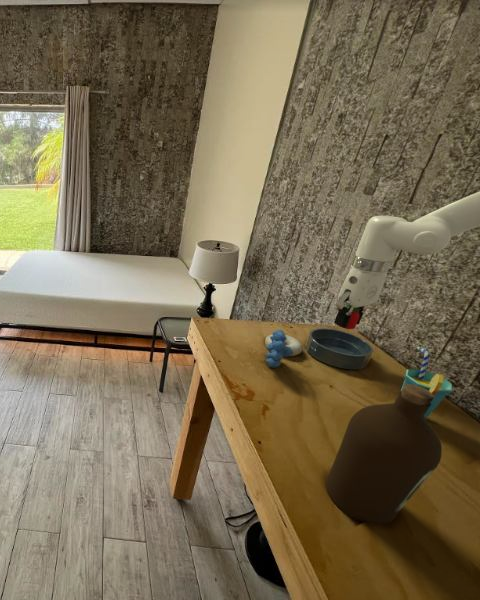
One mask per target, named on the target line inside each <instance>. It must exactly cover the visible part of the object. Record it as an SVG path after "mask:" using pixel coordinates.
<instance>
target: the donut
mask: <svg viewBox="0 0 480 600" xmlns="http://www.w3.org/2000/svg"><path fill="white" fill-rule="evenodd" d="M272 335H273V334H272V333H271V334H269V335H268V336H266V338H265V340H264V344H265V347H266V346H268V345H269V344H270V343H272V340H271V339H270V337H271V336H272ZM285 336H286V338H287V339H286V340H285V341H284V342H285V344H286V346H288V347H290V348H291V349H292V351H293V354H292V355H290V356H289V357H295V356H298V355H300V354H301V353H302V352H303V345H302V343H301V342H300V341H299V340H298V339H297V338H295V337H293V336H290V335H287V334H285Z"/></svg>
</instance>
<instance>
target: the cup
mask: <svg viewBox="0 0 480 600" xmlns="http://www.w3.org/2000/svg"><path fill="white" fill-rule="evenodd" d="M416 350H418V351H419V352H420V353H422V354H423V360H422V363H421V367H420V369H406V371H405V375H404V380H403V384H402V386H401V389H400V392H401V391H403V390H402V389H403V387H404V386H405V385H408V384H410V385H416V386H419V387H422V388H424V389H426V390H428V391H430V392H431V393H432V394H433V395H434V399H433V400H432V402H430V403H431V406H430V407H429V409H428V410H427V412H426V413H425V415H424V417H425V419H426V420H427V419H428V418H429V417H430V415H431V414H432V413H433V412H434V410H435V409H436V408H437V407H438V406H439V405H440V403H441V402H442V401H443V399H444V398H445V397H446V396H447V395H450V394H451V393H452V392H453V383H452V382H450V381H449V380H447V379H446V378H444V375H443V374H440V373H433V372H431V371H427V367H428V364H429V361H430V360H429V359H430V352H429V351H428V350H426V349H425V348H423V347H421V346H417V347H416Z"/></svg>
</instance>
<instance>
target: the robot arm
mask: <svg viewBox="0 0 480 600" xmlns="http://www.w3.org/2000/svg"><path fill="white" fill-rule="evenodd" d="M479 227H480V191H477V192H475V193H473V194H470V195H468V196H465V197H462V198H461V199H459V200H456V201H454V202H452V203H449V204H447V205H444V206H442V207H440V208H438V209H437V210H434V211H431V212H429V213H427V214H425V215H423V216H421V217H419V218H417V219H415V220H414V221H408V220H407V219H405V218H403V217H399V216H393V215H375V216H372V217H370V218H369V219H368V220H367V223H366V225H365V228H364V231H363V233H362V236H361V238H360V241H359V243H358V247H357V249H356V252H355V254H354V256H353V259H352V262H351V265H350V270H349V272H348V274H347V276H346V277H345V279H344V281H343V283H342V286H341V288H340V290H339V293H338V296H337V300H338V301H337V302H336V303H335V307H336V308H337V310H336V311H337V313H336V315H335V318H334V321H333V323H334V325H336V326H338V325H339V326H338V327H340V326H341V327H340V328H342V327H343V329H345V328H346V327H347V325H348V323H349V320H350V318H351V315H350V314H351V312H352V310H353V308H354V307H355V308H356V307H357V308H359V309H360V310H359V312H358V313H359V320H358V322H357V324H356V326H357V325H360V324H361V323H360V322H361V320H362V318H363V316H364V314H365V313H366V311H367V309H368V307H369V305H373V304H377V302H378V301H379V299H380V296H381V294H382V291H383V288H384V285H385V283H386V280H387V276H388V275H387V274H388V271H389V269H390V267H391V265H392V262H393V260H394V258H395V255H396V254H397V251H398V250H400V251H404V252H406V253H407V252H408V253H411V254H417V255H433V254H437V253H439V252H441V251H443V250H444V249H445V248H447V246H448V245H450V243H451V239H452V237H453V238H454V237H456V236H458V235H461V234H462V233H465V232H468V231H471V230H473V229H476V228H479ZM345 306H350V307H349V308H348V309H347V307H345Z"/></svg>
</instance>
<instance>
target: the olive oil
mask: <svg viewBox="0 0 480 600" xmlns="http://www.w3.org/2000/svg"><path fill="white" fill-rule="evenodd" d="M401 389H402V388H401ZM402 390H403V391H401V390H400V391H399V392H398V394H397V396H396V398H395V401H394V402H393V403H392V402H391V403H381V404H372V405H367V406H364V407H362V408H361V409H359V410H358V411H357V412H355V413H354V414H353V415H352V416H351V418H350V419H349V421H348V424H347V427H346V429H345V432H344V435H343V438H342V440H341V443H340V445H339V448H338V451H337V454H336V457H335V459H334V461H333V463H332V466H331V468H330V471H329V473H328V475H327V478H326V481H325V489H326V493H327V494H328V497H329V498H330V499H331V501H332V502H333V503H334V504H335V505H336V507H338V508H339V509H340V510H341V511H342V512H344V513H345V514H346V515H348V516H349V517H351V518H352V519H354V520H356V521H358V522H359V523H362V524H365V522H367V521H368V522H370V523H375V524H387V523H391V522H392V521H393V520H395V518H396V517H397V515H398V514H399V513H400V511H401V510H402V509H403V508H404V507H405V505H406V504H407V503H408V501H409V500H410V499H411V498H412V497H413V496H414V495H415V493H416V492H417V491H418V490H419V488H421V486H422V485H423V484H424V482H425V481H426V480H427V479H428V478H429V477H430V476H431V474H432V473H433V472H434V471H435V470H436V469H437V468H438V466H439V464H440V462H441V459H442V452H443V451H442V450H443V449H442V442H441V439H440V437H439V436H438V434H437V432H436V431H435V430H434V428H433V427H432V425H431V424H430V423H429V421H428V420H427V419H425V417H424V415H425V413H426V412H427V410H428V409H429V407H430V406H431V403H430V402H432V400H433V399H434V395H433V394H432V393H431V392H430V391H428V390H426V389H424V388H422V387H419V386H416V385H410V384H408V385H405V386H404V387H403V389H402Z"/></svg>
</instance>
